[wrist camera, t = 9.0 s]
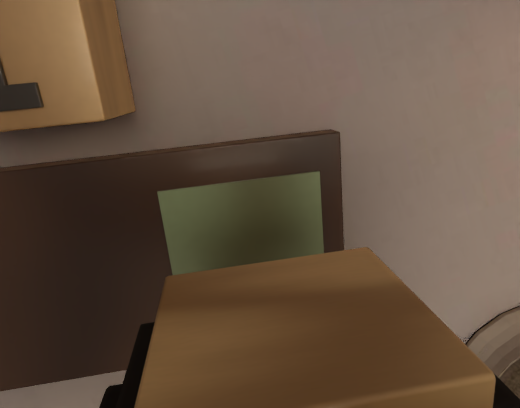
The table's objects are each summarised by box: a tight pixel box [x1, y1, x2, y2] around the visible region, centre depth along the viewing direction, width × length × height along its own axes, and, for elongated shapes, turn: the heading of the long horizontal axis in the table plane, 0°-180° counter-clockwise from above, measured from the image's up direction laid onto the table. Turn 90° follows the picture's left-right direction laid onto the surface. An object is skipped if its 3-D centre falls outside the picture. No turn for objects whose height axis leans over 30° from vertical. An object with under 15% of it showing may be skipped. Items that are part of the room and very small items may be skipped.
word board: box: [0, 130, 344, 391], centre depth 15 cm, size 22×9×1 cm, turn 96°
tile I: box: [0, 0, 135, 132], centre depth 11 cm, size 5×5×5 cm
